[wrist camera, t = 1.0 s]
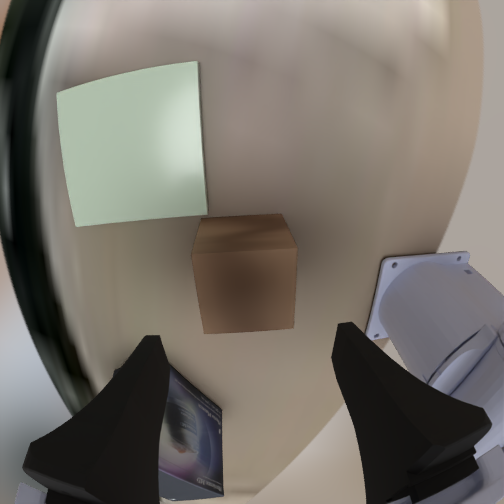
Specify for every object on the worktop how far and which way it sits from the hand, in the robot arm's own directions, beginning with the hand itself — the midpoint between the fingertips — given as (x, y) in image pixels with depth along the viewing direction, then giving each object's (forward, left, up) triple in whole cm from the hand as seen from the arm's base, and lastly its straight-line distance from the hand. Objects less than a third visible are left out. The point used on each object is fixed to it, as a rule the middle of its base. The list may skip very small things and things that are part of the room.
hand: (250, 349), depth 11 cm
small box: (+8, +15, -9) cm, 19 cm away
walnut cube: (0, 0, -9) cm, 9 cm away
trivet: (+6, -7, -9) cm, 13 cm away
